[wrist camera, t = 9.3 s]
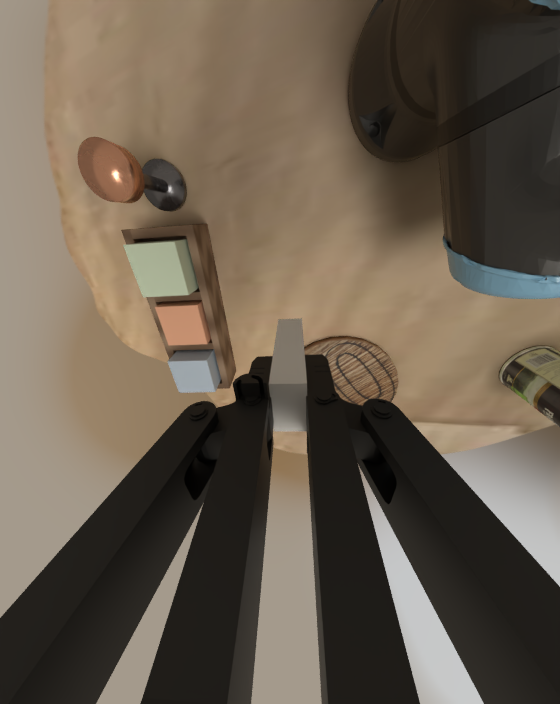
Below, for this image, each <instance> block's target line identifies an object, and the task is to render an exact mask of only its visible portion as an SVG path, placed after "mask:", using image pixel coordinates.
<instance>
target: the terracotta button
mask: <svg viewBox="0 0 560 704" xmlns="http://www.w3.org/2000/svg"><path fill="white" fill-rule="evenodd" d="M155 309H156V312H157V315H158V317H159V320H160V323H161V326H162V329H163V331H164V334H165V337H166V340H167V342H168V345H199V344H208V343H209V341H210V340H211V335H210V331H209V327H208V323H207V319H206V315H205V311H204V306H203V302H202V300H185V301H164V302H162V303H161V304H159V305H157V306H156V307H155Z"/></svg>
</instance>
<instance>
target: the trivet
mask: <svg viewBox="0 0 560 704" xmlns="http://www.w3.org/2000/svg"><path fill="white" fill-rule="evenodd" d="M304 352H305V355H316V354H323V355H324V356H325V357H326V358H327V359H328V362H329V367H330V370H331V374H332V378H333V382H334V387H335V391H336V392H337V393H338V394H339V396H340V398H342V399H343V400H345V401H347V402H350V403H353V404H357V405H362V406H363V404H364V403H365V402H366V401H367V400H370V399H383V400H387V401H389V402H392V400H393V398H394V396H395V395H396V391H397V386H398V376H397V370H396V368H395V366H394V364H393V362H392V361H391V359H390V357H389V356H388V355H387V354H386V353H385V352H384V351H383V350H382V349H381V348H380V347H378V346H377V345H375V344H373V343H371V342H369V341H367V340H364V339H361V338H355V337H349V336H342V337H329V338H326V339H323V340H319V341H316V342H313V343H312V344H310V345H308V346H306V347H305V348H304Z"/></svg>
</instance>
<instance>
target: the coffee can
mask: <svg viewBox="0 0 560 704" xmlns="http://www.w3.org/2000/svg"><path fill="white" fill-rule="evenodd" d="M499 378H500V381H501V382H502V383H503V384H504V385H505V386H507V387H509V388H510V389H511V390H512V391H514V392H515V393H516V394H518V395H519V396H520V397H522V398H523V399H524V400H525V401H527V402H528V403H529V404H530V405H532V406H533V407H534V408H536V409H537V410H538V411H539V412H541V413H542V414H543V415H545V416H546V417H547V418H549V419H550V420H551V421H553V422H554V423H555V424H556V425H558V426H559V427H560V352H559V351H557V350H556V349H554V348H552V347H548V346H536V347H531V348H528V349H525V350H523V351H521V352H519V353H517V354H515V355H514V356H512V357H511V358H510V359H509V360H508V361H507V362H506V363H505V364H504V365H503V367H502V368H501V370H500V374H499Z"/></svg>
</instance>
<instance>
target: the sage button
mask: <svg viewBox="0 0 560 704" xmlns="http://www.w3.org/2000/svg"><path fill="white" fill-rule="evenodd" d="M123 246H124V249H125V251H126V254H127V256H128V259H129V262H130V264H131V267H132V270H133V272H134V275H135V277H136V280H137V283H138V285H139V288H140V291H141V293H142V296H143V297H160V296H180V295H190V294H191V293H192V292H194V291H195V290H196V289H198V288H199V286H198V282H197V278H196V274H195V270H194V266H193V262H192V258H191V254H190V250H189V245H188V241H187V239H182V240H168V241H153V242H140V243H134V244H127V245H123Z"/></svg>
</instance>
